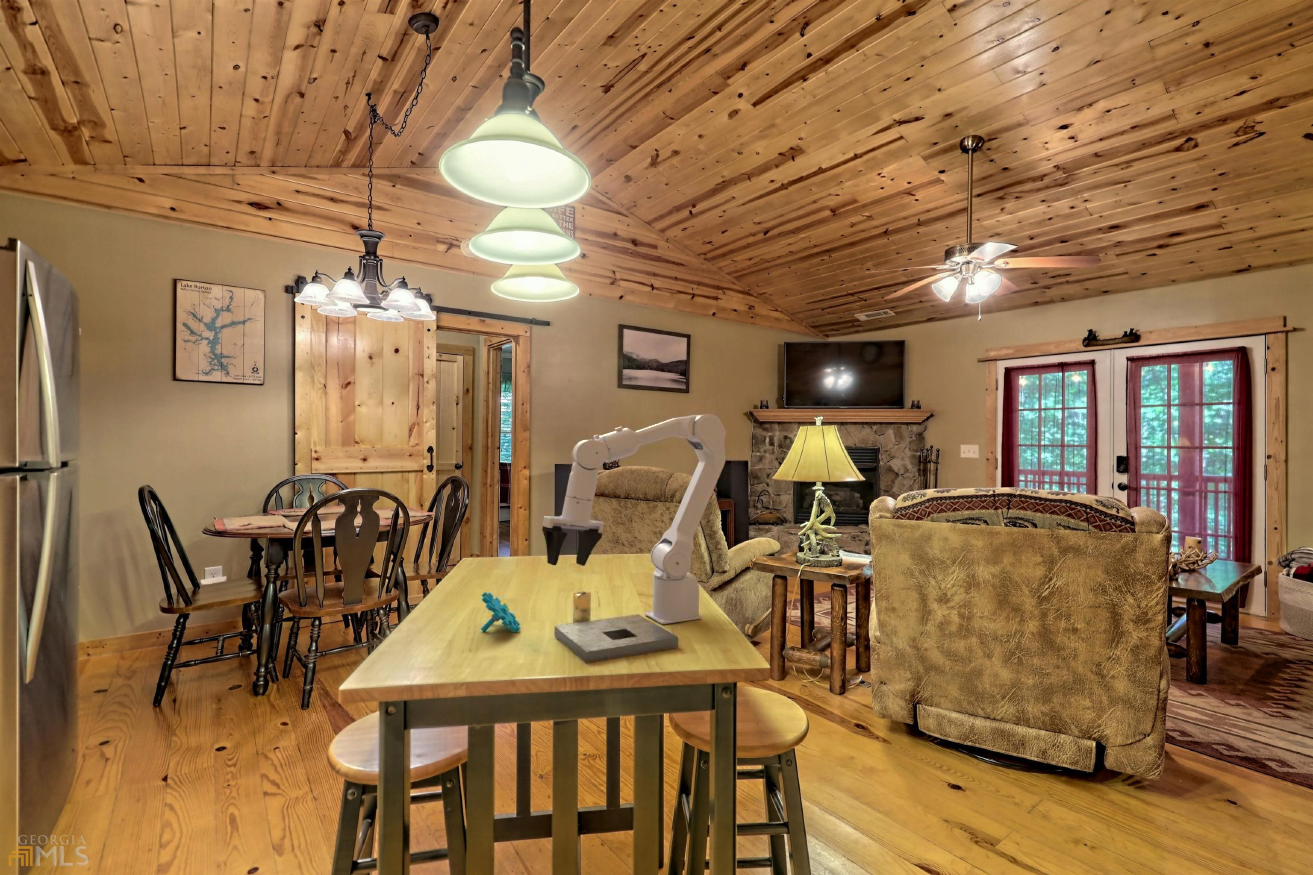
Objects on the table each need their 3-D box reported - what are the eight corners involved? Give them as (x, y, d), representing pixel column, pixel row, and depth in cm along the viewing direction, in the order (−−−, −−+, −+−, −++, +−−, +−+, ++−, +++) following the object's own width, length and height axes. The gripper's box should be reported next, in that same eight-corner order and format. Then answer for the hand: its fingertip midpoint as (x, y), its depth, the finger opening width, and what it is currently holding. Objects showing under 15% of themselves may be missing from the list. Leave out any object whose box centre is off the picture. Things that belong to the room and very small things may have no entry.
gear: (518, 631, 118) (482, 592, 119) (495, 654, 118) (458, 615, 118) (527, 621, 129) (493, 586, 130) (505, 642, 129) (472, 607, 129)
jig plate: (638, 623, 130) (638, 614, 130) (678, 647, 116) (678, 636, 116) (554, 636, 121) (554, 625, 121) (586, 663, 107) (586, 651, 107)
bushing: (586, 618, 132) (586, 589, 132) (593, 623, 129) (593, 593, 129) (570, 621, 131) (570, 591, 131) (576, 625, 128) (577, 595, 128)
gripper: (592, 497, 137) (580, 560, 136) (539, 491, 126) (525, 558, 125) (615, 503, 132) (602, 568, 131) (561, 497, 121) (547, 567, 121)
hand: (566, 564), depth 128 cm, fingers open, 7 cm apart
